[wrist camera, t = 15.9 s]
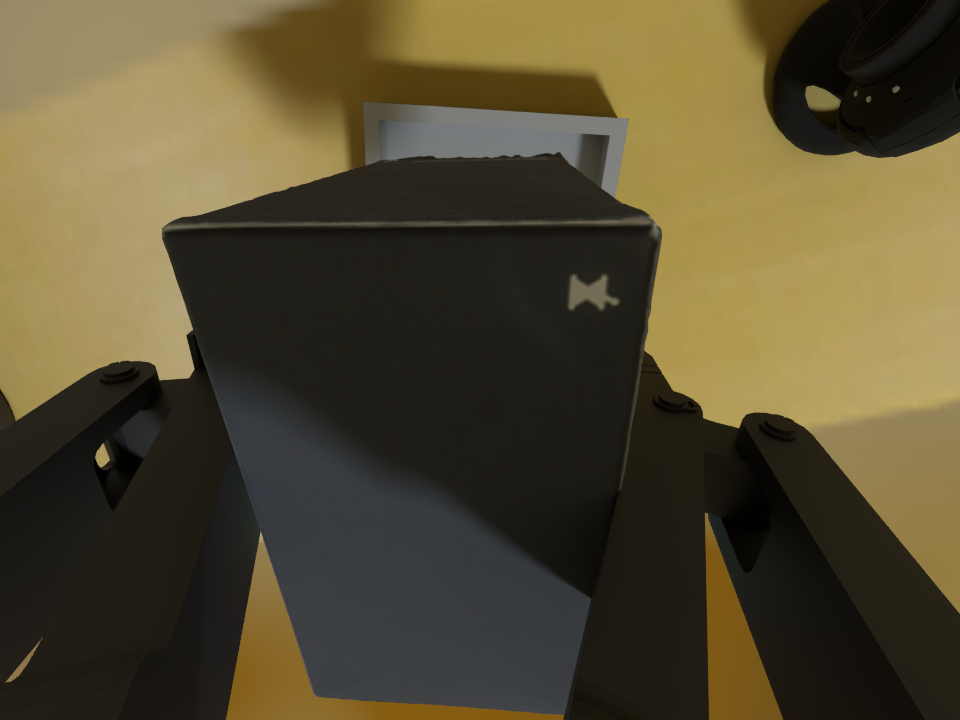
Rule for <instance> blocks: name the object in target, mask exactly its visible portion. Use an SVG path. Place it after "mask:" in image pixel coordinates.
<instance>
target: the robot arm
mask: <svg viewBox="0 0 960 720" xmlns="http://www.w3.org/2000/svg"><path fill="white" fill-rule="evenodd" d="M186 336H187V340H188V344H189V348H190V352H191V356H192V360H193V364H194V368H195V369H194V371H193V373H192V375H191V376H190V378H187V379H174V380H160V381H159V377H158V374H157V370H156V367H155V365H153V364H151V363H149V362H141V361H132V362H130V361H121V362H120V363H119V362H116V363H111V364H109V365H108V366H105V367H102V368H99V369H97V370H95V371H93V372H91V373H89V374H87V375H86V376H84V377H83V378H81V379H80V380H78V381H77V382H75V383H74V384H72V385H71V386H69V387H67V388H66V389H64V390H63V391H61V392H60V393H58V394H57V395H55V396H54V397H52V398H51V399H49V400H48V401H46V402H45V403H43V404H42V405H40V406H38V407H37V408H35V409H34V410H32V411H31V412H29V413H28V414H26V415H25V416H23V417H22V418H20V419H19V420H17V421H16V422H15V421H14V418H13V415H12V413H11V410H10V408H9V406H8V404H7V403H6V401H5V399H4V397H3V396H2V395H1V393H0V720H226V716H227V711H228V705H229V700H230V695H231V689H232V684H233V678H234V672H235V667H236V662H237V656H238V651H239V646H240V640H241V634H242V629H243V624H244V618H245V613H246V608H247V602H248V596H249V591H250V586H251V580H252V574H253V569H254V564H255V559H256V553H257V548H258V542H259V537H260V531H261V530H260V527H259V524H258V521H257V518H256V515H255V512H254V509H253V506H252V503H251V500H250V497H249V494H248V491H247V488H246V485H245V482H244V479H243V476H242V473H241V470H240V467H239V464H238V461H237V458H236V455H235V452H234V449H233V446H232V443H231V440H230V437H229V434H228V431H227V428H226V425H225V422H224V419H223V416H222V413H221V410H220V407H219V404H218V401H217V399H216V396H215V393H214V390H213V387H212V384H211V381H210V378H209V375H208V372H207V370H206V367H205V364H204V361H203V358H202V355H201V352H200V349H199V346H198V343H197V340H196V337H195V333H194V330H192V331H191V332H190V333H189V334H187V335H186ZM103 443H104V445H105V448H106V451H107V453H108V456H109V459H110V461H109V462H108V463H107V464H106V465H105V466H103V467H102V468H100V467H99V466H98V464H97V461H96V459H95V456H96V452H97V450H98V449H99V448H100V446H101V445H102V444H103ZM705 513H708V518H709V521H710V524H711V527H712V530H713V532H714V535H715V537H716V540H717V543H718V546H719V548H720V551H721V553H722V556H723V559H724V562H725V564H726V567H727V570H728V572H729V575H730V577H731V580H732V583H733V586H734V589H735V591H736V594H737V597H738V599H739V602H740V604H741V607H742V610H743V613H744V615H745V618H746V621H747V623H748V626H749V629H750V631H751V634H752V637H753V639H754V642H755V645H756V647H757V650H758V653H759V656H760V658H761V661H762V664H763V666H764V669H765V672H766V674H767V677H768V680H769V682H770V685H771V687H772V690H773V693H774V696H775V698H776V701H777V704H778V707H779V709H780V712H781V714H782V717H783V720H960V614H959V612H958V611H957V610H956V609H955V608H954V606H953V605H952V604H951V603H950V602H949V600H948V599H947V598H946V597H945V595H944V594H943V593H942V592H941V591H940V589H939V588H938V587H937V586H936V585H935V583H934V582H933V581H932V580H931V578H930V577H929V576H928V575H927V574H926V572H925V571H924V570H923V569H922V568H921V566H920V565H919V564H918V563H917V561H916V560H915V559H914V558H913V557H912V555H911V554H910V553H909V552H908V550H907V549H906V548H905V547H904V546H903V545H902V543H901V542H900V541H899V539H898V538H897V537H896V536H895V535H894V533H893V532H892V531H891V530H890V529H889V527H888V526H887V525H886V524H885V522H884V521H883V520H882V519H881V518H880V516H879V515H878V514H877V513H876V512H875V510H874V509H873V508H872V507H871V505H870V504H869V503H868V502H867V501H866V499H865V498H864V497H863V496H862V494H861V493H860V492H859V491H858V490H857V488H856V487H855V486H854V485H853V484H852V482H851V481H850V480H849V479H848V477H847V476H846V475H845V474H844V473H843V471H842V470H841V469H840V468H839V466H838V465H837V464H836V463H835V462H834V461H833V460H832V458H831V457H830V456H829V454H828V453H827V452H826V451H825V450H824V448H823V447H822V446H821V445H820V443H819V442H818V441H817V440H816V439H815V437H814V436H813V435H812V434H811V433H810V432H809V431H808V430H806V429H805V428H804V427H803V426H801V425H799V424H797V423H795V422H794V421H793V420H791V419H789V418H787V417H785V418H784V416H781V415H777V414H774V415H773V414H769V413H751V414H747V415H746V416H745V417H744V418H743V420H742V422H741V425H740V428H736V427H732V426H728V425H724V424H720V423H716V422H713V421H710V420H706V419H704V418H703V411H702V409H701V407H700V405H699V404H698V403H697V402H695V401H694V400H693V399H691V398H689V397H687V396H686V395H684V394H681V393H678V392H675V391H673V390H672V389H671V387H670V385H669V384H668V382H667V380H666V379H665V377H664V375H662V372H661V370H660V369H659V367H657V364H656V362H655V360H654V359H653V357H652V356H651V355H649V354H648V353H647V352H645V351H644V355H643V361H642V367H641V374H640V381H639V389H638V396H637V401H636V407H635V412H634V418H633V423H632V429H631V436H630V444H629V451H628V457H627V463H626V468H625V473H624V478H623V483H622V489H621V490H620V491H619V492H618V496H617V500H616V504H615V508H614V512H613V516H612V519H611V523H610V527H609V531H608V535H607V539H606V543H605V547H604V551H603V555H602V559H601V563H600V567H599V571H598V575H597V579H596V583H595V586H594V590H593V594H592V598H591V603H590V607H589V611H588V615H587V620H586V624H585V628H584V633H583V637H582V641H581V646H580V650H579V654H578V659H577V663H576V667H575V672H574V676H573V680H572V684H571V689H570V693H569V697H568V702H567V706H566V710H565V715H564V719H563V720H709V700H708V651H707V604H706V603H707V600H706V551H705ZM42 637H43V638H42ZM41 638H42V640H41ZM40 640H41V641H40ZM39 641H40V643H39V645H38V647H37V648H36V650H35V652H34V654H33V656H32V657H31V659H30V661H29V663H28V664H27V666H26V667H25V669H24V670H23V671H22V673H21V674H20V675H19V676H18V677H17V678H16V679H14V680H13V681H11V682H7V683H5V682H6V681H7V680H8V678H9V677H10V676H11V675H12V673H13V672H14V671H15V670H16V668H17V667H18V666H19V665H20V664H21V663H22V661H23V660H24V659H25V658H26V657H27V655H28V654H29V653H30V652H31V650H32V649H33V648H34V647H35V646H36V645H37V643H38V642H39Z"/></svg>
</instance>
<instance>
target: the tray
mask: <svg viewBox="0 0 960 720" xmlns="http://www.w3.org/2000/svg"><path fill="white" fill-rule="evenodd" d="M628 121H629V119H624V118H609V117H593V116H578V115H562V114H547V113H532V112H516V111H501V110H485V109H470V108H455V107H439V106H424V105H409V104H393V103H378V102H363V123H364V143H365V164H366V165H369V164H372V163H375V162H378V161H380V160H393V159H400V158H408V157H417V156H423V157H425V156H434V157H436V158H455V157H459V156H460V157H464V158H473V157H476V158H482V157H486V156H487V157H489V158H494V157H499V156H501V155H506V156H509V157H512V156H514V155H520V156H522V157H531V156H535V155H538V154H543V153H550V154H553V155H554V154H555V153H557V152H560V153H561V154H562V156H563V157H564V158H565V159H566V160H567V161H568V162H569V164H570V165H571V166H573V167H575V168H576V169H577V170H578V171H579V172H581V173H583V174H584V175H585V176H586V177H587V178H589V179H590V180H592V181H593V182H594V183H595V184H596V185H598V186H599V187H601V188H602V189H603V190H604V191H606V192H608V193H609V194H610V195H612V196H613V197H614V198H615V193H616V188H617V182H618V177H619V171H620V166H621V160H622V155H623V149H624V143H625V138H626V132H627V127H628Z"/></svg>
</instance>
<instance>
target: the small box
mask: <svg viewBox="0 0 960 720" xmlns="http://www.w3.org/2000/svg"><path fill="white" fill-rule="evenodd" d="M162 239H163V242H164V245H165V247H166V250H167V252H168V255H169V258H170V261H171V264H172V267H173V270H174V273H175V276H176V280H177V283H178V285H179V288H180V291H181V293H182V296H183V299H184V302H185V305H186V308H187V312H188V315H189V318H190V321H191V324H192V327H193V330H194V333H195V337H196V340H197V343H198V346H199V349H200V352H201V355H202V358H203V361H204V364H205V367H206V370H207V372H208V375H209V378H210V381H211V384H212V387H213V390H214V393H215V396H216V399H217V401H218V404H219V407H220V410H221V413H222V416H223V419H224V422H225V425H226V428H227V431H228V434H229V437H230V440H231V443H232V446H233V449H234V452H235V455H236V458H237V461H238V464H239V467H240V470H241V473H242V476H243V479H244V482H245V485H246V488H247V491H248V494H249V497H250V500H251V503H252V506H253V509H254V512H255V515H256V518H257V521H258V524H259V527H260V530H261V533H262V536H263V540H264V543H265V546H266V548H267V552H268V555H269V558H270V561H271V563H272V567H273V570H274V573H275V576H276V579H277V582H278V585H279V588H280V591H281V594H282V597H283V600H284V603H285V606H286V609H287V612H288V615H289V618H290V622H291V624H292V628H293V630H294V633H295V637H296V640H297V643H298V646H299V649H300V652H301V656H302V659H303V662H304V665H305V668H306V671H307V674H308V677H309V681H310V684H311V687H312V690H313V693H314V695H315V696H317V697H324V698H338V699H349V700H361V701H379V702H397V703H407V704H433V705H447V706H460V707H472V708H484V709H496V710H506V711H518V712H531V713H542V714H559V715H565V710H566V706H567V702H568V697H569V693H570V689H571V684H572V680H573V676H574V672H575V667H576V663H577V659H578V654H579V650H580V646H581V641H582V637H583V633H584V628H585V624H586V620H587V615H588V611H589V607H590V603H591V598H592V594H593V590H594V586H595V583H596V579H597V575H598V571H599V567H600V563H601V559H602V555H603V551H604V547H605V543H606V539H607V535H608V531H609V527H610V523H611V519H612V516H613V512H614V508H615V504H616V500H617V496H618V492H619V491H620V490H621V489H622V483H623V478H624V473H625V468H626V463H627V457H628V451H629V444H630V436H631V429H632V423H633V418H634V412H635V407H636V401H637V396H638V389H639V381H640V374H641V367H642V361H643V355H644V347H645V340H646V337H647V333H648V318H649V315H650V311H651V300H652V294H653V288H654V282H655V276H656V270H657V264H658V258H659V252H660V246H661V239H662V232H661V229H660V227H659V226H658V225H657V224H656V223H655V222H654V220H653V219H652V218H651V216H650V215H649V214H647V213H646V212H644V211H643V210H640V209H637V208H634V207H631V206H628V205H626V204H622V203H621V202H620V201H618V200H617V199H615V198H614V197H613V196H612V195H610V194H609V193H608V192H606V191H604V190H603V189H602V188H601V187H599V186H598V185H596V184H595V183H594V182H593V181H592V180H590V179H589V178H587V177H586V176H585V175H584V174H583V173H581V172H579V171H578V170H577V169H576V168H575V167H573V166H571V165H570V164H569V162H568V161H567V160H566V159H565V158H564V157H563V156H562V154H561V153H560V152H557V153H555V154H554V155H553V154H550V153H543V154H538V155H535V156H531V157H522V156H520V155H514V156H512V157H509V156H506V155H501V156H499V157H494V158H489V157H487V156H486V157H482V158H476V157H473V158H464V157H460V156H459V157H455V158H436V157H434V156H425V157H423V156H417V157H408V158H400V159H393V160H380V161H378V162H375V163H372V164H369V165H366V166H362V167H360V168H356V169H354V170H349V171H346V172H343V173H339V174H335V175H333V176H330V177H326V178H322V179H319V180H315V181H313V182H310V183H306V184H302V185H299V186H296V187H290V188H288V189H286V190H283V191H279V192H273V193H270V194H267V195H263V196H260V197H257V198H254V199H253V200H249V201H245V202H242V203H239V204H235V205H232V206H229V207H226V208H222V209H219V210H216V211H212V212H209V213H206V214H202V215H197V216H192V217H181V218H179V219H176V220H174V221H172V222H170V223H168V224H167V225H166V226H164V227H163V228H162Z"/></svg>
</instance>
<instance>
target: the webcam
mask: <svg viewBox="0 0 960 720" xmlns="http://www.w3.org/2000/svg"><path fill="white" fill-rule="evenodd" d="M863 19H864V20H863ZM812 85H814V86H817V87H820V88H822V89H825V90H827V91H828V92H830V93H831V94H833V95H834V96H836V97H837V98H839V99H840V100H841V103H840V106H839V109H838V113H837V126H831V125H827V124H824V123H822V122H820V121H819V120H818V119H816V118H815V116H814V115H813V113H812V112H811V110H810V109H809V107H808V104H807V100H806V97H805V92H806V87H807V86H812ZM773 106H774V114H775V118H776V121H777V124H778V127H779V128H780V130H781V131H782V133H783V134H784V136H785V137H786V138H787V139H788V140H789V141H790V142H791V143H793V144H794V145H795V146H796V147H798V148H800V149H802V150H804V151H806V152H810V153H814V154H821V155H839V154H845V153H850V152H853V151H857V152H859V153H861V154H863V155H866V156H871V157H877V158H883V157H898V156H901V155H905V154H908V153H911V152H914V151H918V150H921V149H923V148H926V147H929V146H931V145H934V144H937V143H939V142H942V141H944V140H946V139H948V138H950V137H951V136H953V135H955V134H957V133H959V132H960V0H829V1H828V2H826V3H825V4H823V5H822V6H821V7H819V8H818V9H817V10H816V11H815V12H814V13H813V14H812V15H811V16H810V17H809V18H808V19H807V20H806V21H805V22H804V23H803V24H802V26H801V27H800V28H799V29H798V31H797V32H796V33H795V35H794V36H793V38H792V39H791V41H790V42H789V44H788V45H787V47H786V49H785V51H784V53H783V55H782V57H781V60H780V62H779V65H778V68H777V71H776V74H775V76H774V93H773Z"/></svg>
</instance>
